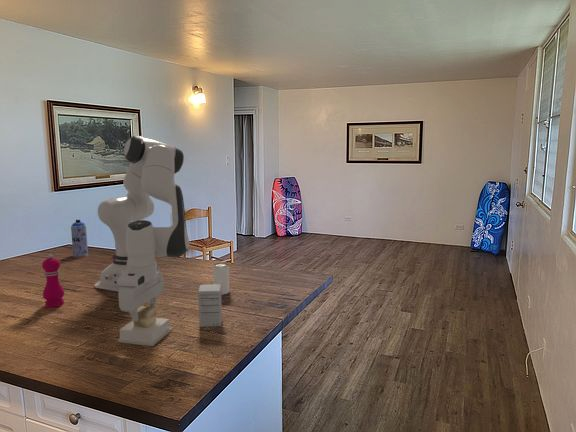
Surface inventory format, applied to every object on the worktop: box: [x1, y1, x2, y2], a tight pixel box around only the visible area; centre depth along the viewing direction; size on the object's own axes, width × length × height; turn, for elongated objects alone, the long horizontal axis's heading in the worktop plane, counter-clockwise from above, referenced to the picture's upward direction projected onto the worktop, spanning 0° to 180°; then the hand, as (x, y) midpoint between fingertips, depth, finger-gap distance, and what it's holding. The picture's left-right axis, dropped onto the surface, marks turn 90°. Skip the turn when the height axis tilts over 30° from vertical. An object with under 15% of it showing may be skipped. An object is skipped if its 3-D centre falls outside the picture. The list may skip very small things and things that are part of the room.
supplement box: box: [197, 283, 223, 328], centre depth 150 cm, size 7×7×13 cm
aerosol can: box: [70, 219, 89, 258], centre depth 242 cm, size 8×8×20 cm
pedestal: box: [117, 317, 173, 347], centre depth 140 cm, size 12×12×4 cm
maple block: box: [133, 305, 157, 328], centre depth 139 cm, size 5×5×5 cm
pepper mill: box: [41, 253, 65, 309], centre depth 166 cm, size 7×7×20 cm
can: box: [212, 262, 230, 296], centre depth 181 cm, size 6×6×12 cm
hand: (144, 314), depth 139 cm, fingers open, 8 cm apart
